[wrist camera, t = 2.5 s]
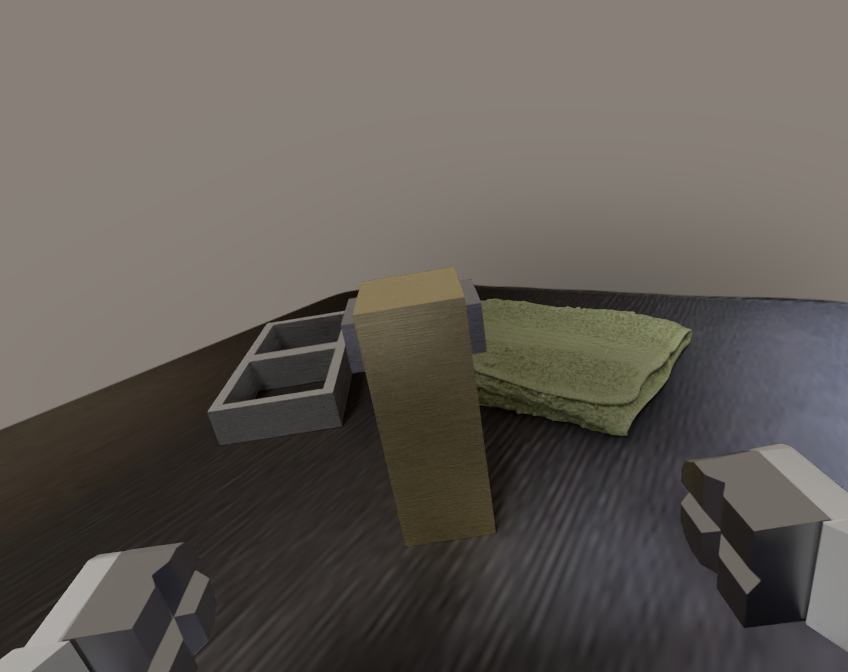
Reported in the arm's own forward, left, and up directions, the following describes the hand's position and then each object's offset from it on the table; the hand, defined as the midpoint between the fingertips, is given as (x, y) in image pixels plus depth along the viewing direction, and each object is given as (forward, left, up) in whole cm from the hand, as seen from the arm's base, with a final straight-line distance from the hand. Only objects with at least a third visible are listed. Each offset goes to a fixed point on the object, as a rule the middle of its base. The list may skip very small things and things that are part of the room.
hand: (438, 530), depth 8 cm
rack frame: (-10, +28, -11) cm, 32 cm away
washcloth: (+7, +25, -11) cm, 28 cm away
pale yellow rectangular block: (0, +12, -11) cm, 16 cm away
